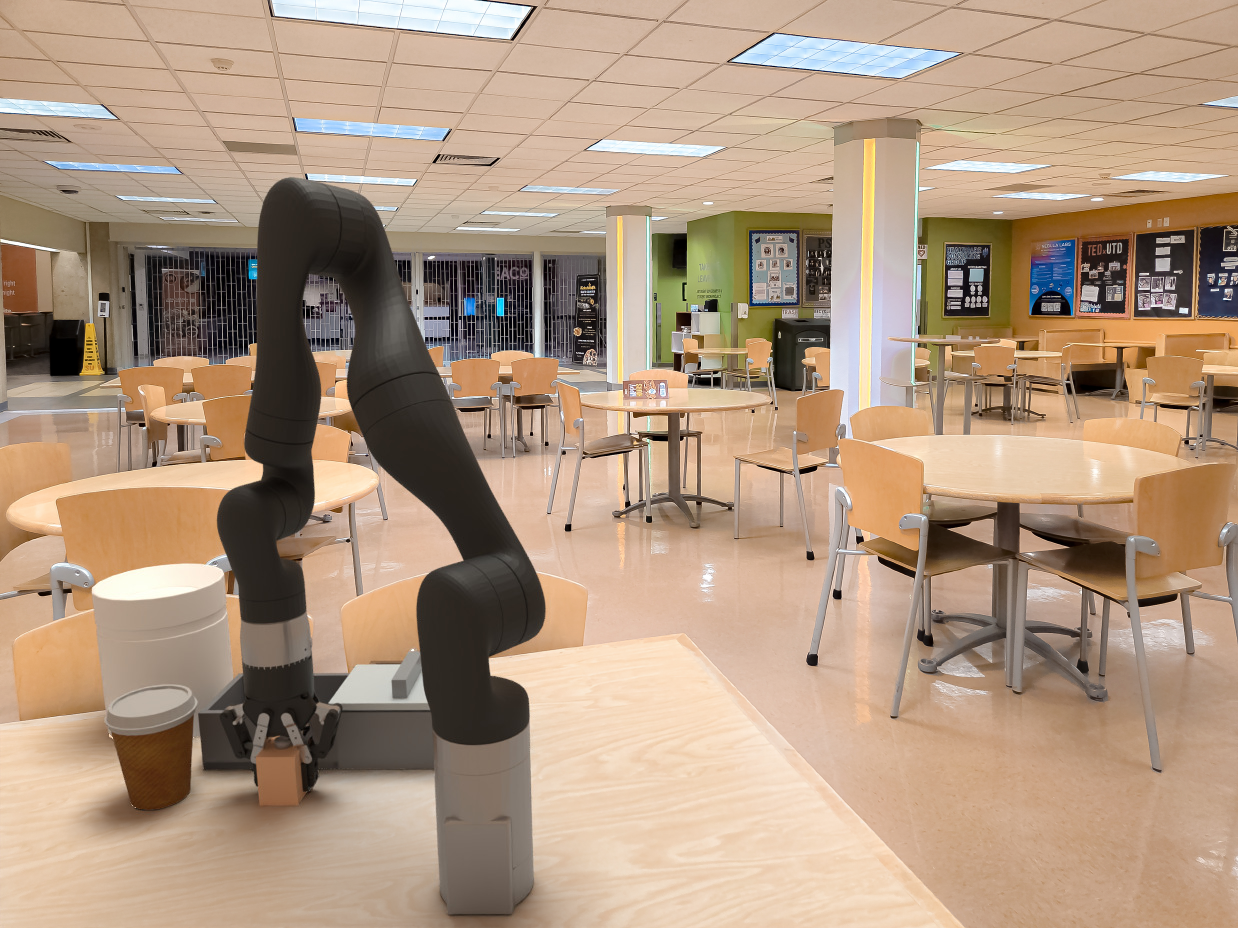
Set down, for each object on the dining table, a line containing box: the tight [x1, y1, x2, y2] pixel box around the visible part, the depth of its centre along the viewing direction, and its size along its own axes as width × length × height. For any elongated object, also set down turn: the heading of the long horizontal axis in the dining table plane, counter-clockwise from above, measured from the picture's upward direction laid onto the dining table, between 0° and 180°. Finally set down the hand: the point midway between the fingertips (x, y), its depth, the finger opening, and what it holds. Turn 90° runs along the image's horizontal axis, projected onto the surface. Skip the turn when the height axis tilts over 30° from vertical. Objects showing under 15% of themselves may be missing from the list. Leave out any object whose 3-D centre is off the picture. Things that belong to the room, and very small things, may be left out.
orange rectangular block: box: [256, 736, 307, 806], centre depth 104 cm, size 6×4×7 cm
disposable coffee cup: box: [103, 684, 198, 811], centre depth 102 cm, size 10×10×12 cm
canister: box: [91, 563, 234, 738], centre depth 121 cm, size 16×16×20 cm
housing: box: [198, 672, 434, 771], centre depth 114 cm, size 12×35×8 cm, turn 90°
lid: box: [328, 651, 430, 710], centre depth 113 cm, size 12×17×3 cm
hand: (287, 787), depth 104 cm, fingers closed on orange rectangular block, 4 cm apart
